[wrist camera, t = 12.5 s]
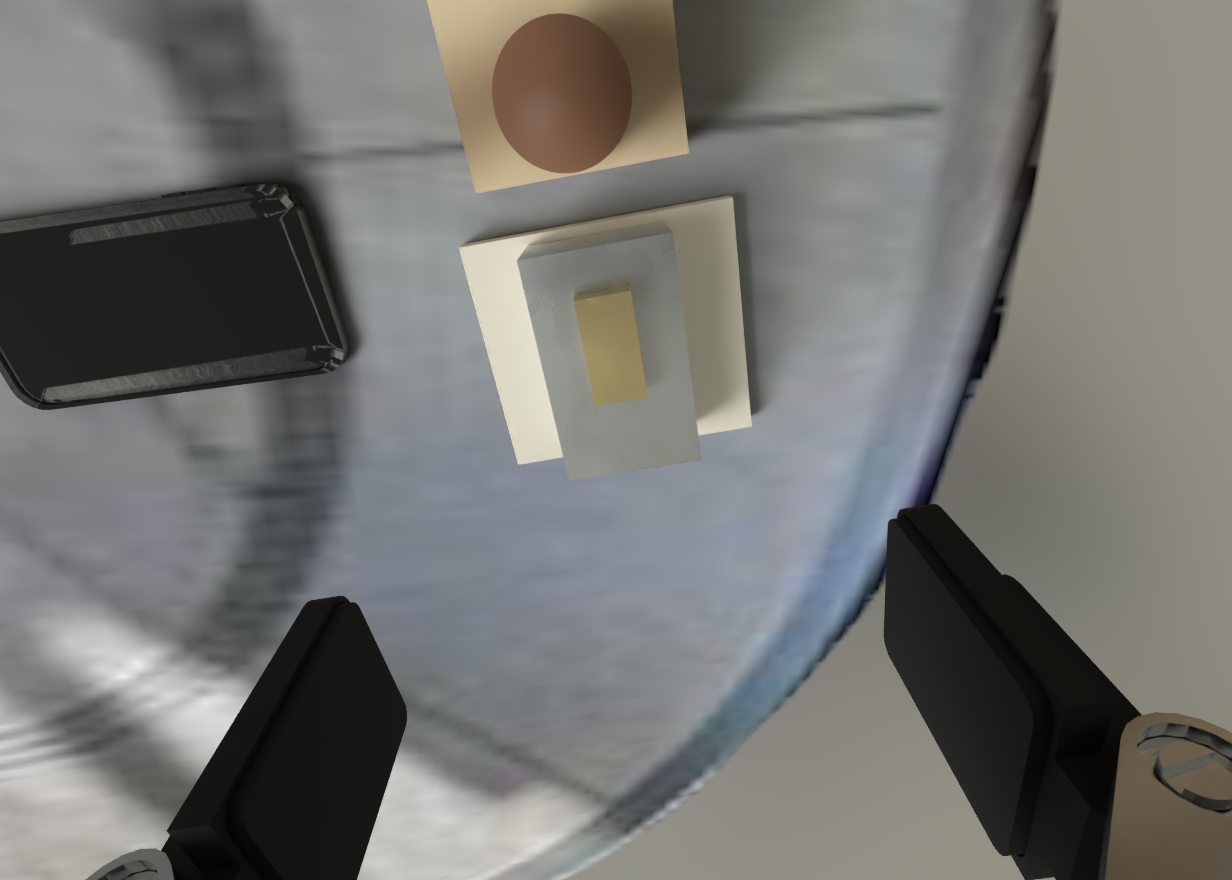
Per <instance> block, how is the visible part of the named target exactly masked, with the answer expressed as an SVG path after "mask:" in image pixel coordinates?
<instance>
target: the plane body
mask: <svg viewBox="0 0 1232 880" xmlns="http://www.w3.org/2000/svg"><path fill="white" fill-rule="evenodd" d="M427 3H428V7H429V11H430V15H431V19H432V23H433V27H434V31H435V35H436V39H437V43H438V47H439V51H440V55H441V59H442V63H443V66H444V70H445V74H446V78H447V82H448V86H449V90H450V94H451V98H452V102H453V106H454V110H455V114H456V118H457V122H458V126H459V130H460V134H461V138H462V141H463V145H464V149H465V153H466V157H467V161H468V165H469V169H470V173H471V177H472V181H473V185H474V189H475V193H476V194H477V193H482V192H487V191H493V190H498V189H503V188H508V187H514V186H519V185H524V184H530V183H535V182H540V181H546V180H551V179H556V178H562V177H567V176H572V175H577V174H583V173H588V172H593V171H599V170H604V169H609V168H615V167H620V166H625V165H631V164H636V163H641V162H647V161H652V160H657V159H662V158H668V157H673V156H678V155H684V154H689V149H688V140H687V130H686V121H685V112H684V103H683V93H682V84H681V75H680V66H679V56H678V47H677V38H676V29H675V19H674V10H673V1H672V0H427Z"/></svg>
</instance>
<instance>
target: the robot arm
mask: <svg viewBox="0 0 1232 880" xmlns="http://www.w3.org/2000/svg"><path fill="white" fill-rule="evenodd" d="M884 617H885V618H884V641H885V646H886V649H887V652H888V655H889V657H890V659H891V660H892V662H893V664H894V666H895V668H896V669H897V671H898V673H899V675H900V677H901V679H902V680H903V682H904V684H905V686H906V688H907V690H908V691H909V693H910V695H911V697H912V699H913V701H914V702H915V704H916V706H917V708H918V710H919V711H920V713H921V715H922V717H923V719H924V720H925V722H926V724H927V726H928V728H929V729H930V731H931V733H932V735H933V737H934V739H935V741H936V742H937V744H938V746H939V748H940V750H941V751H942V753H943V755H944V757H945V759H946V761H947V762H948V764H949V766H950V768H951V770H952V771H953V773H954V775H955V777H956V779H957V781H958V782H959V784H960V786H961V788H962V789H963V791H964V793H965V795H966V797H967V799H968V800H969V802H970V804H971V806H972V808H973V809H974V811H975V813H976V815H977V817H978V818H979V820H980V822H981V824H982V826H983V828H984V829H985V831H986V833H987V835H988V837H989V838H990V840H991V842H992V844H993V846H994V847H995V849H996V850H997V851H998V852H999V853H1000V854H1001V855H1002V856H1008V855H1011V856H1012V858H1013V859H1014V861H1015V863H1016V865H1017V866H1018V868H1019V870H1020V872H1021V874H1022V875H1023V877H1024V879H1025V880H1034V879H1042V878H1050V877H1055V879H1056V880H1232V733H1231V732H1229V731H1227V730H1225V729H1223V728H1220V727H1218V726H1216V725H1213V724H1211V723H1209V722H1206V721H1204V720H1201V719H1197V718H1193V717H1189V716H1185V715H1181V714H1177V713H1156V712H1155V713H1150V714H1146V715H1141V714H1140V713H1139V712H1138V710H1137V709H1136V708H1135V707H1134V706H1133V705H1132V704H1131V703H1130V702H1129V701H1128V700H1127V699H1126V697H1125V696H1124V695H1123V694H1122V693H1121V692H1120V691H1119V690H1118V689H1117V688H1116V687H1115V686H1114V684H1113V683H1112V682H1111V681H1110V680H1109V679H1108V678H1107V677H1106V676H1105V675H1104V674H1103V672H1102V671H1100V669H1099V668H1098V667H1097V666H1096V665H1095V664H1094V663H1093V662H1092V661H1091V659H1090V658H1089V657H1088V656H1087V655H1086V654H1085V653H1084V652H1083V651H1082V650H1081V649H1080V648H1079V646H1078V645H1077V644H1076V643H1075V642H1074V641H1073V640H1072V639H1071V638H1070V637H1069V636H1068V635H1067V634H1066V632H1065V631H1064V630H1063V629H1062V628H1061V627H1060V626H1059V625H1058V624H1057V623H1056V622H1055V621H1054V620H1053V618H1052V617H1051V616H1050V615H1049V614H1048V613H1047V612H1046V611H1045V610H1044V609H1043V608H1042V606H1041V605H1040V604H1039V603H1038V602H1037V601H1036V600H1035V599H1034V598H1033V597H1032V596H1031V595H1030V593H1029V592H1028V591H1027V590H1026V589H1025V588H1024V587H1023V586H1022V585H1021V584H1020V583H1019V582H1018V581H1017V580H1016V579H1014V578H1013V577H1011V576H1008V575H1006V574H1005V575H1001V573H1000V572H999V571H998V570H997V569H996V568H995V567H994V566H993V565H992V563H990V561H989V560H988V559H987V558H986V557H985V556H984V555H983V553H981V551H980V550H979V549H978V548H977V547H976V546H975V545H974V543H973V542H972V541H971V540H970V539H969V538H968V537H967V536H966V535H965V533H963V531H962V530H961V529H960V528H959V527H958V526H957V525H956V524H955V522H954V521H953V520H952V519H951V518H950V517H949V516H948V515H947V513H946V512H944V510H943V509H942V508H941V507H940V506H939V505H936V504H930V505H924V506H918V507H911V508H905V509H901V510H899V512H898V516H897V519H891V520H890V521H889V523H888V534H887V561H886V588H885V616H884ZM406 722H407V710H406V705H405V703H404V700H403V698H402V696H401V694H400V692H399V690H398V688H397V686H396V684H395V681H394V679H393V677H392V675H391V673H390V671H389V669H388V667H387V664H386V662H385V660H384V658H383V656H382V654H381V652H380V650H379V648H378V645H377V643H376V641H375V639H374V637H373V635H372V633H371V631H370V629H369V626H368V624H367V622H366V620H365V618H364V616H363V614H362V612H361V609H360V608H359V606H358V605H357V604H356V603H353V602H352V603H350V602H349V600H348V599H347V598H346V597H344V596H336V597H330V598H323V599H317V600H311V601H309V602H307V603H306V604H305V606H304V607H303V609H302V610H301V612H300V613H299V615H298V617H297V618H296V620H295V622H294V623H293V625H292V627H291V628H290V630H289V631H288V633H287V635H286V636H285V638H284V640H283V641H282V643H281V645H280V646H279V648H278V649H277V651H276V653H275V654H274V656H273V658H272V659H271V661H270V663H269V664H268V666H267V667H266V669H265V671H264V672H263V674H262V676H261V677H260V679H259V681H258V682H257V684H256V686H255V687H254V689H253V690H252V692H251V694H250V695H249V697H248V699H247V700H246V702H245V704H244V705H243V707H242V708H241V710H240V712H239V713H238V715H237V717H236V718H235V720H234V722H233V723H232V725H231V726H230V728H229V730H228V731H227V733H226V735H225V736H224V738H223V740H222V741H221V743H220V744H219V746H218V748H217V749H216V751H215V753H214V754H213V756H212V758H211V759H210V761H209V762H208V764H207V766H206V767H205V769H204V771H203V772H202V774H201V776H200V777H199V779H198V780H197V782H196V784H195V785H194V787H193V789H192V790H191V792H190V794H189V795H188V797H187V799H186V800H185V802H184V803H183V805H182V807H181V808H180V810H179V812H178V813H177V815H176V817H175V818H174V820H173V821H172V823H171V825H170V826H169V828H168V830H167V832H168V833H169V834H170V837H169V838H168V840H167V842H166V843H165V845H164V847H163V848H162V850H161V851H160V850H157V849H139V850H136V851H134V852H131V853H128V854H125V855H122V856H120V857H119V858H117V859H115V860H113V861H111V862H110V863H108V864H106V865H104V866H103V867H101V868H100V869H99V870H98V871H96V872H95V873H94V874H92V875H91V876H90V877H89V878H87V879H86V880H357V877H358V874H359V871H360V868H361V865H362V862H363V859H364V855H365V852H366V849H367V846H368V843H369V840H370V837H371V833H372V830H373V827H374V824H375V821H376V818H377V815H378V812H379V808H380V805H381V802H382V799H383V796H384V793H385V790H386V786H387V783H388V780H389V777H390V774H391V771H392V768H393V765H394V761H395V758H396V755H397V752H398V749H399V746H400V743H401V739H402V736H403V733H404V730H405V727H406Z"/></svg>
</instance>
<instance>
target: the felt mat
mask: <svg viewBox="0 0 1232 880" xmlns="http://www.w3.org/2000/svg"><path fill="white" fill-rule="evenodd" d="M663 220H664V221H665V223H666V224H667V225H668V227H669V228H670V229H671V231H672V232H673V237H674V245H675V253H676V261H677V269H678V277H679V285H680V293H681V301H682V309H683V317H684V325H685V333H686V341H687V349H688V357H689V365H690V373H691V381H692V389H693V397H694V405H695V413H696V421H697V429H698V435H703V434H709V433H716V432H722V431H728V430H734V429H740V428H746V427H752V425H751V413H750V401H749V388H748V376H747V364H746V352H745V340H744V327H743V315H742V303H741V291H740V279H739V266H738V254H737V242H736V230H735V217H734V205H733V197H731V196H729V195H727V196H722V197H716V198H711V199H705V200H700V201H695V202H689V203H684V204H678V205H673V206H667V207H662V208H656V209H651V210H646V211H640V212H635V213H629V214H624V215H618V216H613V217H607V218H602V219H597V220H591V221H586V222H580V223H575V224H569V225H564V226H559V227H553V228H548V229H542V230H537V231H531V232H526V233H520V234H515V235H510V236H504V237H499V238H493V239H488V240H482V241H477V242H471V243H466V244H463V245H462V246H460V247H459V250H460V254H461V258H462V261H463V265H464V269H465V272H466V276H467V279H468V283H469V287H470V290H471V294H472V298H473V301H474V305H475V309H476V312H477V316H478V320H479V323H480V327H481V330H482V334H483V338H484V341H485V345H486V349H487V352H488V356H489V360H490V363H491V367H492V371H493V374H494V378H495V381H496V385H497V389H498V392H499V396H500V400H501V403H502V407H503V411H504V414H505V418H506V422H507V425H508V429H509V432H510V436H511V440H512V443H513V447H514V451H515V454H516V458H517V462H518V465H519V464H525V463H531V462H537V461H543V460H550V459H556V458H562V457H563V454H562V450H561V446H560V441H559V437H558V433H557V429H556V424H555V420H554V416H553V412H552V407H551V403H550V399H549V395H548V391H547V386H546V382H545V378H544V374H543V369H542V365H541V361H540V357H539V352H538V348H537V344H536V340H535V336H534V331H533V327H532V323H531V319H530V314H529V310H528V306H527V302H526V298H525V293H524V289H523V285H522V281H521V276H520V272H519V268H518V264H517V260H518V258H519V257H520V255H521V254H522V252H523V251H524V250H525V248H526V247H527V245H531V244H537V243H542V242H548V241H553V240H559V239H564V238H570V237H575V236H580V235H586V234H591V233H597V232H602V231H608V230H613V229H619V228H624V227H630V226H635V225H641V224H646V223H652V222H657V221H663Z"/></svg>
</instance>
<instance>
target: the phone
mask: <svg viewBox="0 0 1232 880" xmlns="http://www.w3.org/2000/svg"><path fill="white" fill-rule="evenodd" d="M227 188H228V189H223V190H216V189H215V188H212V189H205V190H198V191H191V192H190V194H189V195H186V194H185V192H180V193H173V194H167V195H162V198H161V199H154V200H147V201H140V202H134V203H127V204H120V205H113V206H106V207H99V208H92V209H85V210H78V211H72V212H65V213H58V214H51V215H44V216H37V217H30V218H23V219H16V220H10V221H3V222H0V372H1V374H2V375H3V377H4V379H5V380H6V382H7V384H8V385H9V387H10V389H11V390H12V391H13V393H14V394H15V395H16V396H17V397H18V398H19V399H20V400H22V401H23V402H24V403H26V404H28V405H30V406H31V407H34V408H38V409H41V410H52V409H60V408H68V407H75V406H83V405H90V404H98V403H105V402H113V401H120V400H128V399H136V398H143V397H151V396H158V395H166V394H173V393H181V392H188V391H196V390H204V389H211V388H219V387H226V386H234V385H241V384H249V383H256V382H264V381H272V380H279V379H287V378H294V377H302V376H309V375H317V374H324V373H328V372H331V371H334V370H335V369H336V368H337V367H339V366H340V365H341V364H342V363H343V362H345V360H346V359H347V357H348V355H349V351H350V344H349V339H348V336H347V333H346V330H345V327H344V324H343V321H342V318H341V315H340V312H339V309H338V306H337V303H336V300H335V297H334V294H333V291H332V288H331V285H330V282H329V279H328V276H327V273H326V270H325V267H324V264H323V261H322V258H321V255H320V252H319V248H318V245H317V242H316V239H315V236H314V233H313V230H312V227H311V224H310V221H309V218H308V215H307V212H306V210H305V207H304V205H303V203H302V201H301V200H300V199H299V198H298V196H297V195H296V194H295V193H294V192H292V191H291V190H290V189H288V188H287V187H285V186H282V185H279V184H275V183H265V184H258V185H251V186H243V185H235V186H229V187H227Z"/></svg>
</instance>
